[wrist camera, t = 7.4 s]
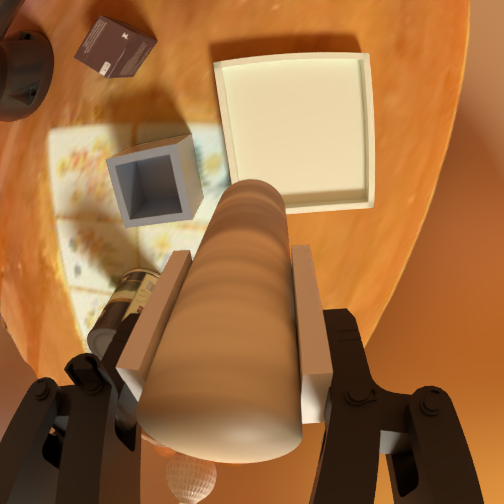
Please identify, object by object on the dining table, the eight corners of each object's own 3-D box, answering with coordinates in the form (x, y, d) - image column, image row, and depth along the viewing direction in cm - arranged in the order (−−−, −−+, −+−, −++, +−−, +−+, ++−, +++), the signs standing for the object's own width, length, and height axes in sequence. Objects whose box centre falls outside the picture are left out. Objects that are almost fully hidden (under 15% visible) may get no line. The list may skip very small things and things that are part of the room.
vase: (223, 446, 82) (217, 506, 63) (214, 459, 91) (208, 511, 72) (173, 435, 81) (161, 496, 62) (170, 450, 89) (160, 502, 70)
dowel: (214, 181, 19) (109, 381, 6) (284, 177, 19) (307, 391, 6) (222, 242, 21) (164, 455, 8) (286, 239, 21) (299, 463, 8)
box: (126, 22, 28) (100, 13, 22) (159, 41, 30) (137, 33, 23) (101, 59, 30) (72, 57, 24) (132, 78, 32) (106, 79, 26)
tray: (216, 64, 31) (213, 62, 29) (362, 55, 30) (368, 53, 27) (239, 210, 41) (237, 218, 39) (368, 200, 40) (373, 207, 37)
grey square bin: (129, 146, 37) (105, 159, 31) (191, 133, 36) (176, 143, 30) (144, 206, 42) (125, 228, 36) (203, 197, 41) (192, 219, 35)
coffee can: (119, 304, 52) (89, 361, 40) (122, 260, 47) (84, 317, 35) (170, 321, 53) (150, 383, 41) (180, 279, 48) (156, 344, 36)
